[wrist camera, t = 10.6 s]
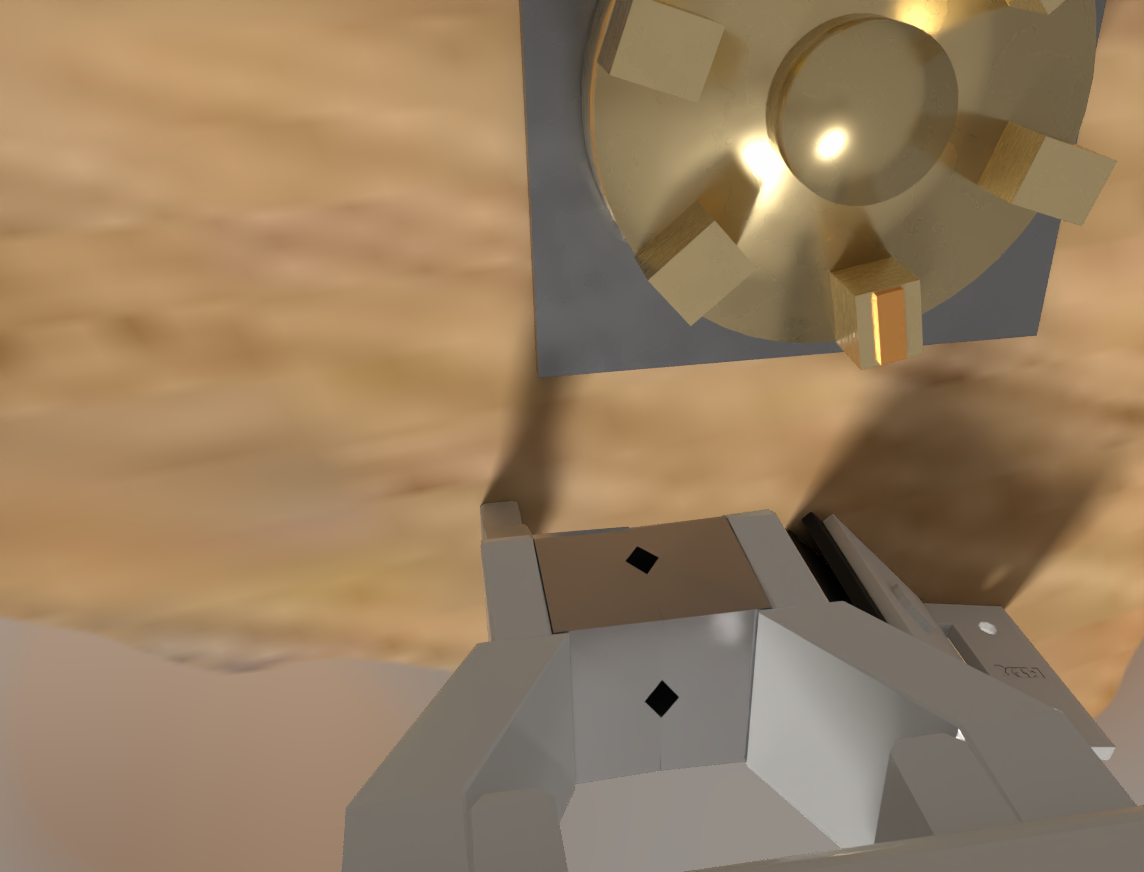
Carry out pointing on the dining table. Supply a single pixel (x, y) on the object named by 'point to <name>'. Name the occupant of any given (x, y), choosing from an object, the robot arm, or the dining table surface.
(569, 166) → the base plate
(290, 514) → the dining table surface
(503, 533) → the grey angled block
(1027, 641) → the grey and black block
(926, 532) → the dining table surface
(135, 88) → the dining table surface
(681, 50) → the gold radial fin assembly
